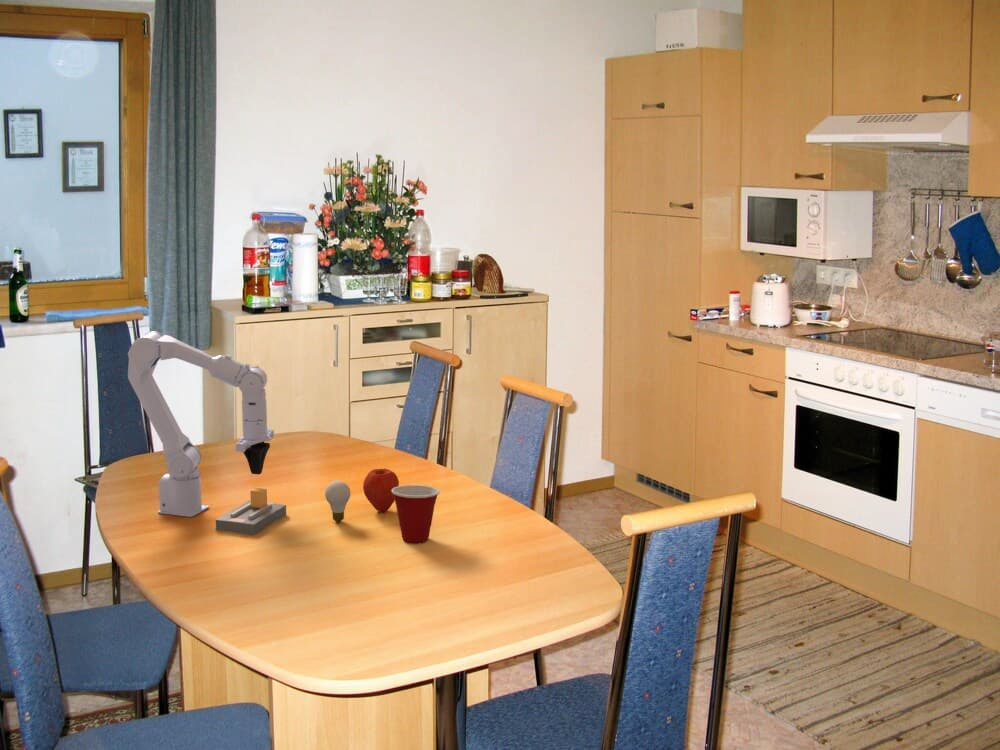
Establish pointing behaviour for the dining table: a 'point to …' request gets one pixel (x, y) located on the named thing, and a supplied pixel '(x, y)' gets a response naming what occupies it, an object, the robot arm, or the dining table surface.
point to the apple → (380, 488)
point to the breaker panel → (250, 518)
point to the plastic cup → (415, 511)
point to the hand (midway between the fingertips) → (256, 473)
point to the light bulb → (337, 498)
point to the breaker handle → (258, 497)
